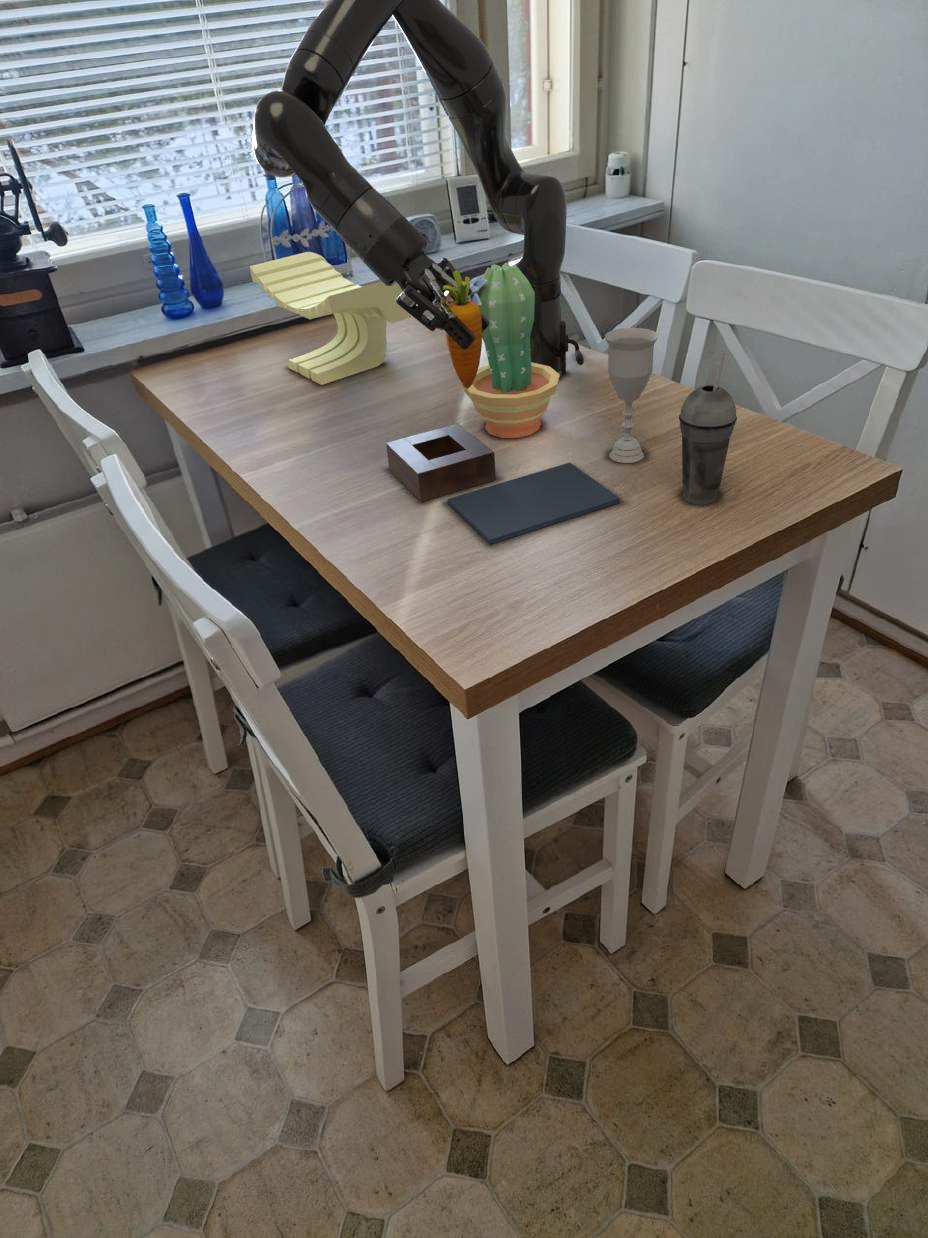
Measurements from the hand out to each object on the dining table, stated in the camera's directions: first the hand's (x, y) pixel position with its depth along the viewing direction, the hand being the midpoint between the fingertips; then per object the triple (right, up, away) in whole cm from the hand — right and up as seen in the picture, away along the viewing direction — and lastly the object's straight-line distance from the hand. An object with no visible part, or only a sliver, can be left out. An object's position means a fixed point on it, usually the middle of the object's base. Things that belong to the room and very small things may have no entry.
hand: (477, 336), depth 114 cm
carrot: (-1, -6, +5) cm, 8 cm away
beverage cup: (+31, -20, +6) cm, 37 cm away
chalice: (+23, -12, +18) cm, 31 cm away
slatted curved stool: (-26, +13, +58) cm, 65 cm away
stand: (-5, -15, +17) cm, 23 cm away
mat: (+8, -21, +8) cm, 23 cm away
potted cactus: (+6, -5, +29) cm, 30 cm away
